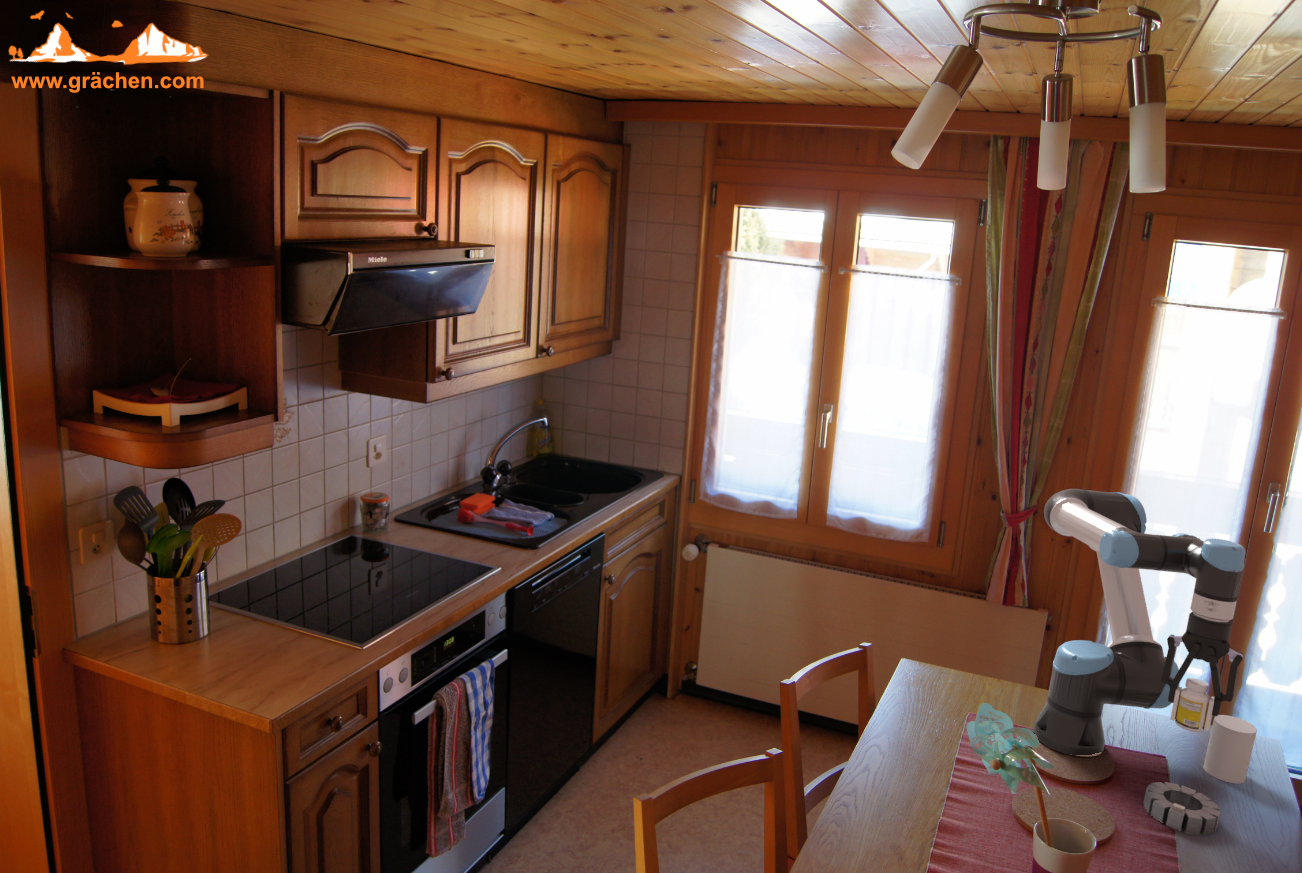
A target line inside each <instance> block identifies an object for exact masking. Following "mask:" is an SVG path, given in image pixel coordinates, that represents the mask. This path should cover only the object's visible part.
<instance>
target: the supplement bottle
mask: <svg viewBox="0 0 1302 873" xmlns="http://www.w3.org/2000/svg"><path fill="white" fill-rule="evenodd" d="M1208 690H1209V683H1208V682H1206V681H1204V680H1202V679H1198V678H1192V677H1189V678H1187V679H1186V680H1185V687H1184V688H1182V690H1181V692H1180V696H1179V702H1178V707H1177V713H1176V719H1175V720H1174V723H1175V724H1176V726H1178V727H1179V728H1181V729H1183V730H1185V731H1187V732H1188V731H1189V732H1193V733H1202V732H1204V731H1205V730H1204V727H1205V722H1206V717H1207V712H1208V707H1209V702H1210V699H1211V696H1210V695H1209V694H1208Z"/></svg>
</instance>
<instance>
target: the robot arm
mask: <svg viewBox="0 0 1302 873" xmlns="http://www.w3.org/2000/svg"><path fill="white" fill-rule="evenodd" d="M1043 508H1044V509H1043V515H1044V516H1043V517H1044V521H1045V522H1046V525H1047V526H1048V527H1049V528H1050V529H1051V530H1053V531H1055V532H1056V533H1058V534H1059V535H1061V536H1064V537H1065V536H1066V537H1072V538H1075V539H1077V541H1080V542H1082V543H1083V544H1086V545H1087V546H1088V547H1089V548H1090V549H1091V550H1093V551H1094V552H1096V555H1097V557H1096V558H1097V562H1098V566H1099V572H1100V579H1101V583H1102V590H1103V591H1102V592H1103V596H1104V601H1105V607H1106V612H1107V618H1108V623H1109V630H1110V635H1111V640H1112V643H1111V644H1110V645H1109V646H1107V645H1105V644H1103V643H1099V642H1093V641H1092V640H1086V639H1085V640H1083V639H1079V640H1070V641H1069V640H1068V641H1065V642H1064V643H1062V644H1061V645H1059V646H1058V648H1057V650H1056V652H1055V653H1056V654H1055V655H1054V659H1053V662H1052V671H1051V677H1050V683H1049V687H1048V695H1047V699H1046V703H1045V704H1044V706H1043V707H1042V709H1041V710H1040V712H1039V714H1038V715H1037V718H1036V719H1035V721H1034V725H1033V731H1032V732H1034V733H1035V734H1036V735H1037V737H1038V739H1039V740H1038V739H1037V740H1038V741H1039V742H1040V743H1041V744H1043V745H1045V746H1046V747H1048V748H1050V749H1051V750H1054V751H1056V752H1059V753H1063V754H1064V755H1065V754H1066V755H1068V754H1072V755H1092V754H1095V753H1099V752H1102V751H1103V752H1104V749H1105V743H1106V740H1105V739H1106V738H1105V734H1104V732H1105V731H1104V729H1103V728H1104V727H1103V720H1102V714H1103V713H1102V712H1103V710H1104V705H1113V706H1114V705H1115V706H1124V707H1132V708H1133V707H1135V708H1143V709H1147V710H1149V709H1165V708H1167V707H1169V706H1170V705H1171V704H1172V708H1171V714H1170V718H1169V720H1171V721H1174V722H1175V719H1176V713H1177V707H1178V702H1179V696H1180V692H1181V690H1182V689H1183V687H1182V686H1180V683H1181V681H1182V680H1183V678H1184V676H1185V674H1186V672H1187V670H1188V669H1189V667H1190V665H1191V664H1192V662H1193V660H1199V661H1200V660H1201V661H1203V662H1206V663H1208V664H1209V669H1210V675H1211V681H1212V682H1211V683H1212V689H1213V695H1212V696H1210V702H1209V707H1208V712H1207V717H1206V722H1205V727H1204V731H1205V732H1209V730H1210V727H1211V723H1212V719H1213V716H1214V717H1215V716H1218V715H1220V711H1221V707H1222V703H1223V702H1229V703H1231V702H1232V701H1233V699H1234V696H1235V690H1236V684H1237V679H1238V671H1239V665H1240V664H1241V662H1242V661H1243V659H1244V656H1245V655H1244V654H1243V653H1242V652H1241V651H1240V652H1238V651H1235V650H1234V649H1232V648H1231V646H1230V643H1229V641H1230V636H1231V631H1232V627H1233V626H1232V625H1233V623H1232V621H1231V620H1233V619H1234V615H1235V611H1236V606H1237V599H1238V595H1239V591H1240V586H1241V582H1242V578H1243V577H1242V576H1243V573H1244V569H1245V558H1246V557H1245V556H1246V549H1245V547H1244V546H1243V545H1241V544H1240V543H1237V542H1233V541H1230V540H1227V539H1220V538H1207V539H1205V540H1202V539H1201V538H1198V537H1197V536H1196V535H1190V534H1187V533H1184V532H1183V533H1176V534H1173V535H1162V534H1151V533H1146V529H1147V526H1146V523H1147V514H1146V510H1145V507H1144V505H1143V503H1142V502H1141V501H1140V500H1139V499H1138V498H1137V497H1136V496H1133V495H1131V494H1127V493H1122V492H1118V491H1113V492H1109V491H1099V490H1089V489H1080V488H1068V489H1063V490H1060V491H1058V492H1056V493H1054V494H1053V495H1051V497H1049V499H1047V501H1046V503H1045V505H1044V507H1043ZM1140 570H1147V571H1148V570H1151V571H1158V572H1170V573H1177V574H1180V573H1181V574H1187V575H1189V576H1190V577H1193V578H1195V584H1194V589H1193V593H1192V598H1191V605H1190V610H1191V612H1190V613H1189V615H1188V620H1187V624H1186V630H1185V632H1184V633H1183V634H1182V635H1175V634H1170V635H1169V636H1168V637H1167V640H1166V641H1167V642H1166V643H1167V647H1168V649H1167V653H1166V656H1165V655H1164V649H1163V645H1161V643H1159V642H1157V641H1156V640H1154V637H1153V631H1152V627H1151V621H1150V618H1149V617H1150V616H1149V611H1148V607H1147V601H1146V597H1145V593H1144V587H1143V586H1144V585H1143V581H1142V577H1141V573H1140ZM1181 643H1183V645H1184V646H1185V649H1186V651H1187V652H1188V653H1187V654H1186V657H1185V659H1184V661H1183V663H1182V664H1181V666H1180V667H1179V666H1178V664H1177V663H1176V661H1175V658H1176V652H1177V648H1178V647H1180V645H1181ZM1226 655H1228V656H1229V657H1228V661H1229V662H1230V667H1229V673H1228V677H1227V678H1228V679H1227V685H1226V690H1225V691H1226V692H1223V685H1222V679H1221V672H1220V659H1221V658H1223V657H1225V656H1226ZM1034 733H1033V734H1034ZM1072 755H1071V756H1072Z"/></svg>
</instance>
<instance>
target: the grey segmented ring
mask: <svg viewBox="0 0 1302 873" xmlns="http://www.w3.org/2000/svg"><path fill="white" fill-rule="evenodd" d="M1196 791H1197V790H1195V789H1192V788H1190V787H1187V786H1185V785H1181V787H1180V786H1179V784H1178V783H1173V782H1168V781H1164V782H1161V781H1158V782H1157V781H1156V782H1151V783H1150V784H1148V785H1147V787H1146V789H1145V794H1144V798H1143V804H1144V805H1143V806H1144V807H1145V808H1144V807H1143V808H1144V810H1145V809H1146V810H1147V811H1146V810H1145V811H1146V813H1147V812H1148V813H1151V814H1150V817H1151V816H1153V817H1154V818H1156V819H1157V820H1159V821H1160V822H1161V823H1162V822H1166V823H1165V826H1166V825H1167V826H1169V827H1168V828H1170V827H1171V828H1170V829H1172V828H1173V829H1172V830H1174V831H1178V832H1181V831H1183V833H1185V834H1187V835H1193V836H1194V835H1195V836H1200V835H1202V836H1209V835H1213V834H1214V833H1216V831H1217V828H1218V824H1219V820H1220V816H1221V808H1220V807H1219V806H1218V804H1216V802H1215V801H1212V798H1210V797H1208V796H1207V795H1205V794H1203V793H1202V792H1196ZM1148 813H1147V814H1148ZM1153 817H1152V818H1153ZM1154 818H1153V819H1154ZM1157 820H1156V821H1157ZM1160 822H1159V823H1160ZM1161 823H1160V824H1161ZM1162 824H1163V823H1162ZM1167 826H1166V827H1167Z"/></svg>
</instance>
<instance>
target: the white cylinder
mask: <svg viewBox="0 0 1302 873" xmlns="http://www.w3.org/2000/svg"><path fill="white" fill-rule="evenodd" d="M1211 726H1212V727H1211V730H1210V735H1209V740H1208V745H1207V749H1206V753H1205V757H1204V762H1203V770H1204V771H1205V772H1206V773H1207V774H1209V775H1210V776H1211V777H1213V778H1215V779H1218V780H1219V781H1220V780H1221V781H1222V782H1226V783H1230V784H1231V783H1232V784H1243V783H1245V782H1246V778H1247V773H1248V770H1249V766H1250V761H1251V758H1252V753H1253V749H1254V744H1255V740H1256V736H1257V731H1258V729H1257V727H1256V726H1255V725H1254V724H1252V723H1251V722H1248V721H1247V720H1245V719H1242V718H1239V717H1236V716H1232V715H1226V714H1219V715H1218V716H1214V718H1213V722H1212V725H1211Z"/></svg>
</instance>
